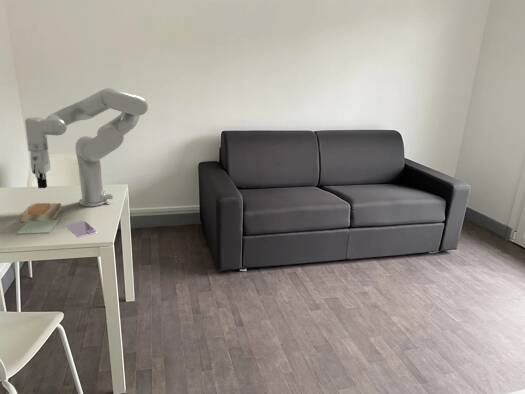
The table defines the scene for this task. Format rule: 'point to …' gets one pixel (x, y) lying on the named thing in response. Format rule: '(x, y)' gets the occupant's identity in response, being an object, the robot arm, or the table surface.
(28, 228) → the mat
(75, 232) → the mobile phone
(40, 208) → the tile
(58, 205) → the plate
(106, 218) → the table surface
